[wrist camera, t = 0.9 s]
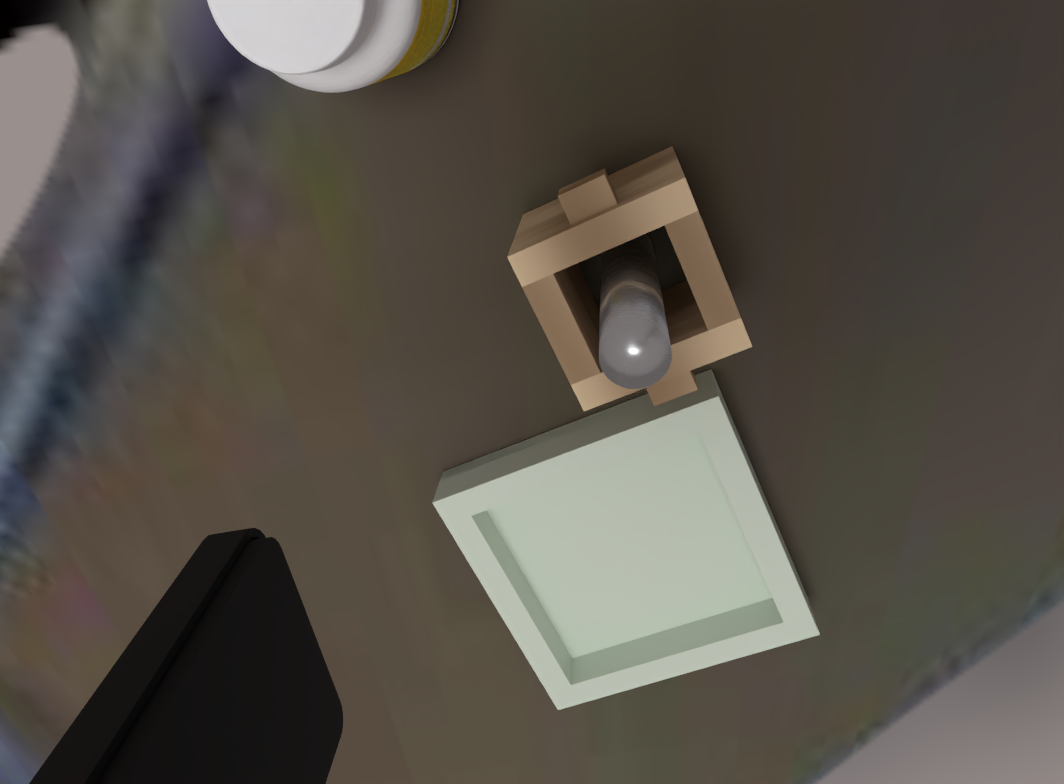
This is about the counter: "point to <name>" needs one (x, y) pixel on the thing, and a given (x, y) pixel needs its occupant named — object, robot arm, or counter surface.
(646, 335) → the post
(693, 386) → the ring
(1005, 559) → the counter surface
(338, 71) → the supplement bottle
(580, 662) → the tray
